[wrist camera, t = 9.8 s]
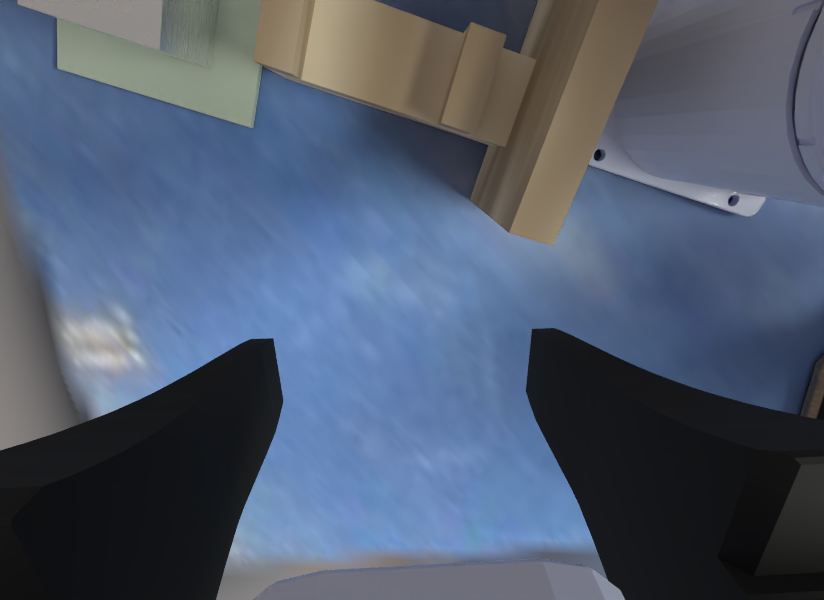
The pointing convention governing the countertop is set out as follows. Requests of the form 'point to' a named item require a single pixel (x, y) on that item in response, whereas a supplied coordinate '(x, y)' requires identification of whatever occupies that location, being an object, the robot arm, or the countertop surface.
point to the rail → (145, 23)
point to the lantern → (815, 393)
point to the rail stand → (475, 86)
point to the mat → (176, 65)
